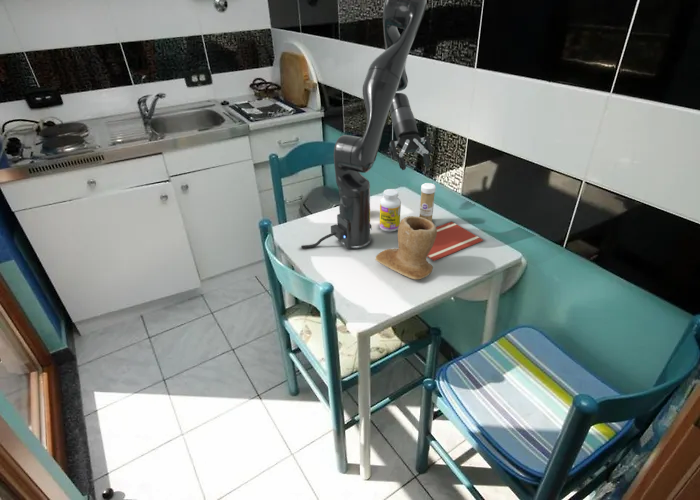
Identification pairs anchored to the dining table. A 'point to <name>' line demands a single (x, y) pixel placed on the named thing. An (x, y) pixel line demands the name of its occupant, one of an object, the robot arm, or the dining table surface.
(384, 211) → the supplement bottle
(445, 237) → the dish cloth
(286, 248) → the dining table surface
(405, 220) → the stone cup
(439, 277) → the dining table surface
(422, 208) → the sprinkles bottle
